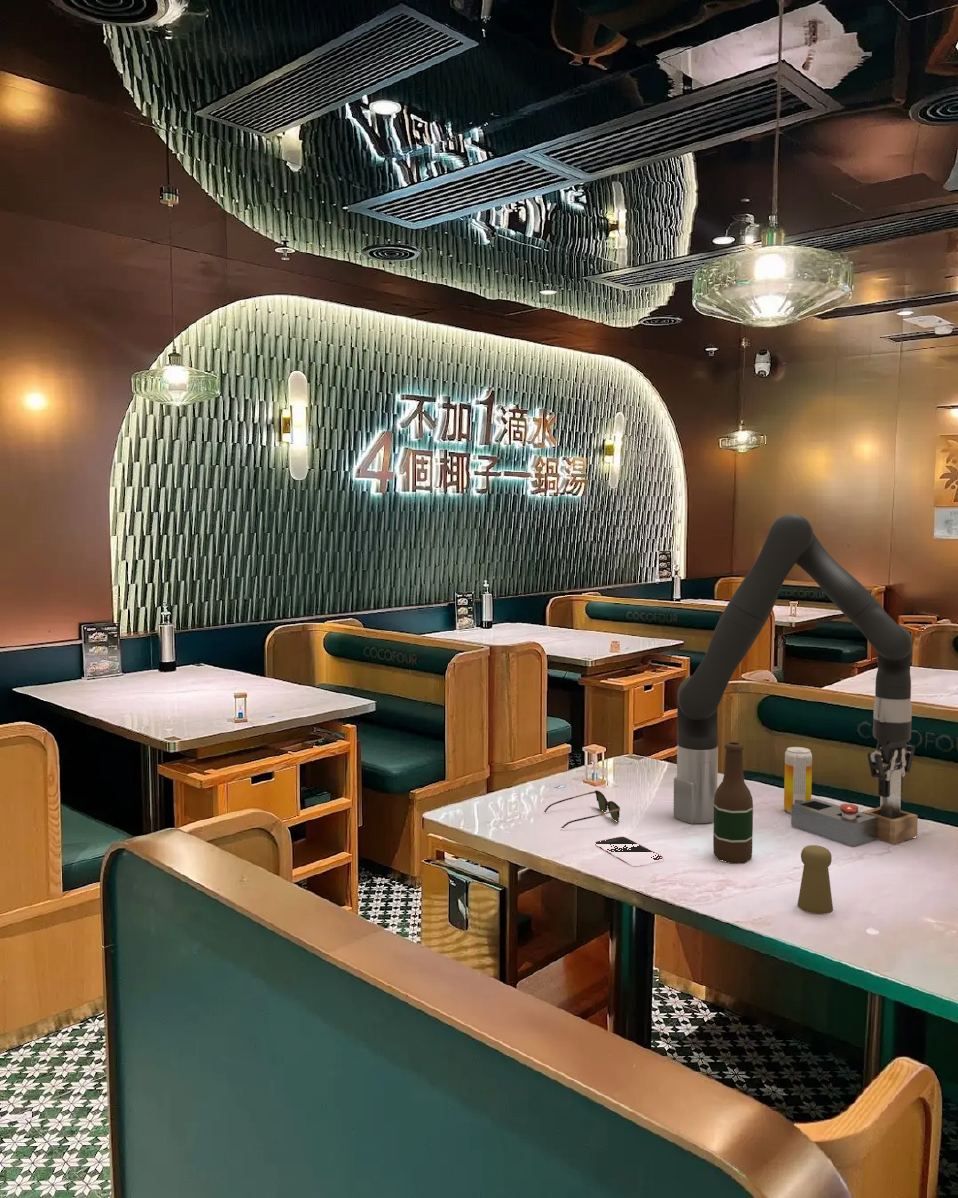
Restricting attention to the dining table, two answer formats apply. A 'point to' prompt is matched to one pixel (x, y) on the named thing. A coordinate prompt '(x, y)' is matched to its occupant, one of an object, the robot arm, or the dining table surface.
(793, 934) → the dining table surface
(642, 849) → the cell phone
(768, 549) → the robot arm
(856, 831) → the socket block
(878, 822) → the wooden hollow square frame
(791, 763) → the beer can
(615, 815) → the sunglasses
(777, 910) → the dining table surface
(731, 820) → the beer bottle
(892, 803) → the gray round-topped cylinder
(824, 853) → the olive knobbed peg
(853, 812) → the copper-capped cylinder
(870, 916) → the dining table surface
